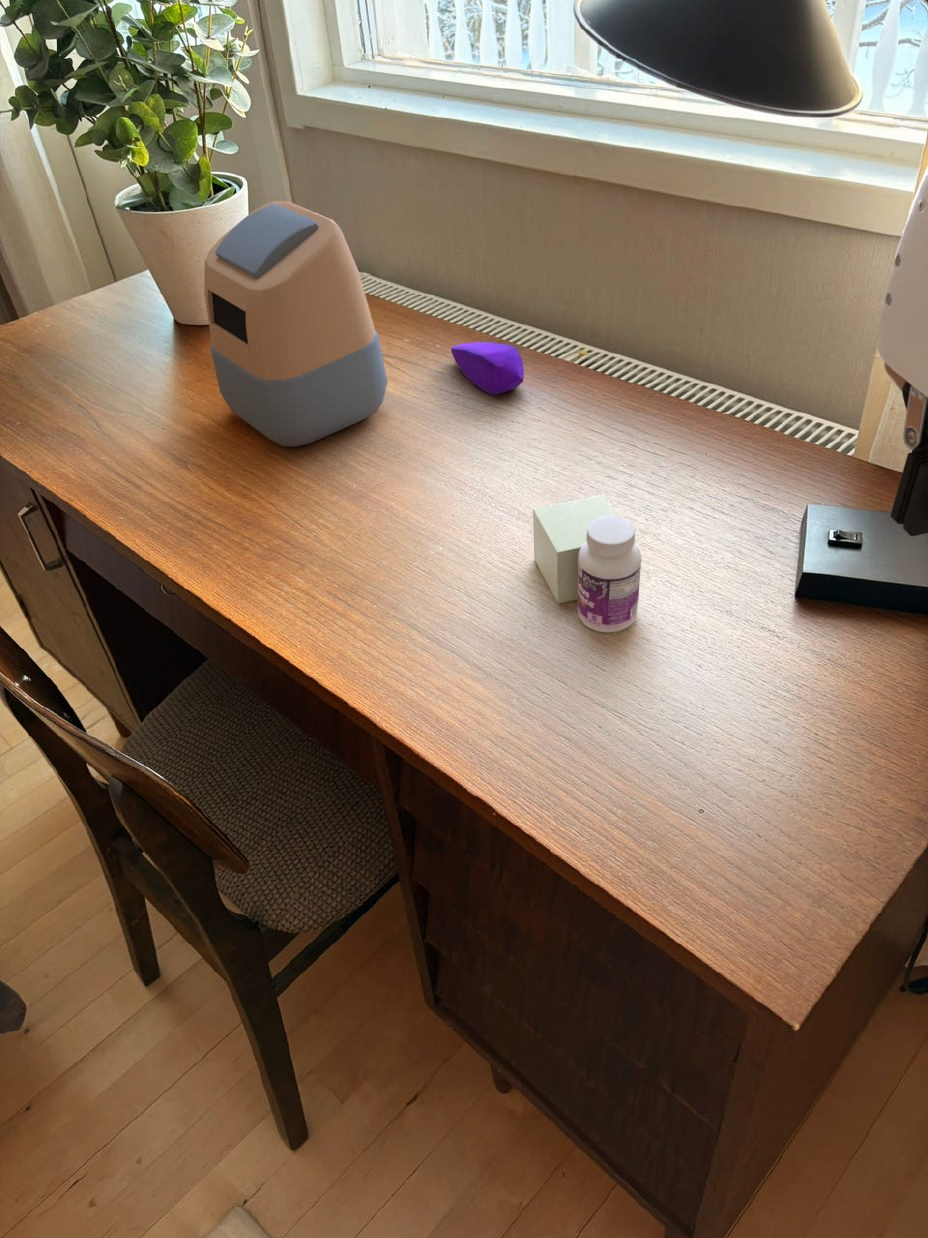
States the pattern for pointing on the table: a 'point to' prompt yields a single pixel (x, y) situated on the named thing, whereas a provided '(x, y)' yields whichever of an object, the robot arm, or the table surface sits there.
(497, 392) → the crystal
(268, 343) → the alarm clock
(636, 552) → the pill bottle
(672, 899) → the table surface
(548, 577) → the sage block
